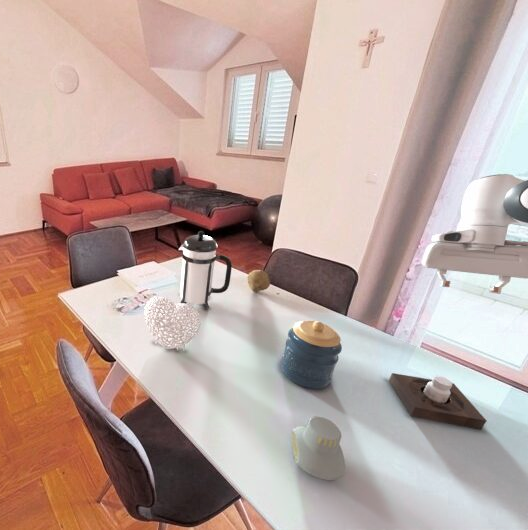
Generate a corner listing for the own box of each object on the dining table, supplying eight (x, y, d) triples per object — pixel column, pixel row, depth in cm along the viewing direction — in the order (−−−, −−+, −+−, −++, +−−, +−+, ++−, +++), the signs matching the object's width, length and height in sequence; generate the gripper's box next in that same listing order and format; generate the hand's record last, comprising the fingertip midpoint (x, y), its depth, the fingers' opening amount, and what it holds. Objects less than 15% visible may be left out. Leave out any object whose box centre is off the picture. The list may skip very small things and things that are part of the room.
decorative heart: (201, 347, 101) (207, 301, 94) (190, 367, 93) (195, 319, 86) (151, 330, 109) (153, 287, 102) (137, 347, 101) (137, 302, 94)
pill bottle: (440, 401, 81) (452, 378, 78) (444, 413, 78) (457, 389, 75) (418, 394, 83) (429, 371, 80) (421, 405, 80) (433, 382, 77)
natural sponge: (264, 287, 138) (269, 266, 134) (270, 297, 130) (275, 276, 126) (243, 286, 139) (247, 265, 135) (247, 296, 131) (251, 274, 127)
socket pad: (449, 391, 84) (453, 383, 83) (481, 429, 74) (487, 420, 72) (388, 381, 88) (392, 372, 86) (410, 416, 77) (415, 407, 76)
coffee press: (193, 316, 118) (201, 241, 105) (168, 297, 130) (172, 228, 118) (227, 304, 125) (238, 233, 113) (200, 288, 138) (207, 222, 126)
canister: (304, 354, 98) (318, 305, 91) (341, 383, 87) (360, 331, 79) (270, 363, 94) (281, 313, 87) (304, 395, 83) (320, 341, 76)
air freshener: (343, 492, 61) (358, 458, 57) (297, 480, 63) (308, 447, 59) (327, 442, 71) (339, 410, 67) (287, 433, 73) (296, 402, 69)
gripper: (532, 243, 79) (521, 296, 80) (425, 236, 90) (416, 283, 91) (547, 241, 74) (535, 298, 75) (431, 234, 85) (421, 284, 86)
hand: (468, 290), depth 83 cm, fingers open, 8 cm apart
